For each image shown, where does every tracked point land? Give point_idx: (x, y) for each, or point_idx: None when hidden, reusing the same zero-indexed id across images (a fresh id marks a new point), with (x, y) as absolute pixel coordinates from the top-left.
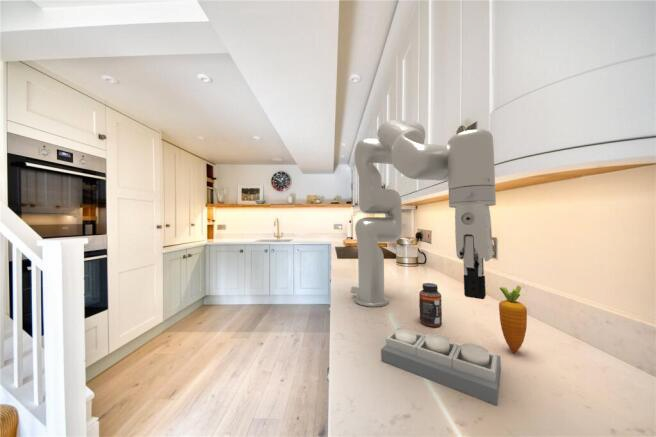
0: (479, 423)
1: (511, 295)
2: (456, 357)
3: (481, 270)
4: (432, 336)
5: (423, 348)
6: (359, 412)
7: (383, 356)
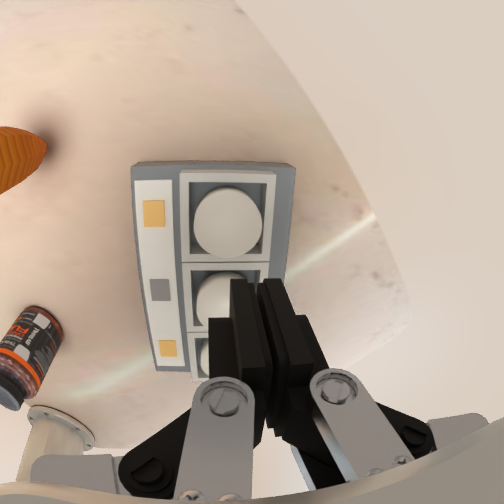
0: (346, 188)
1: None
2: (256, 254)
3: (369, 407)
4: None
5: None
6: (389, 318)
7: None
